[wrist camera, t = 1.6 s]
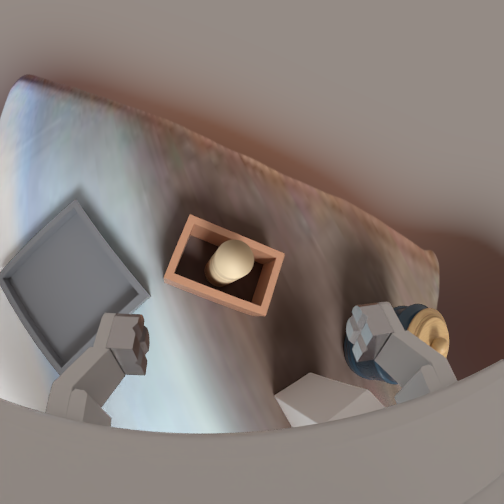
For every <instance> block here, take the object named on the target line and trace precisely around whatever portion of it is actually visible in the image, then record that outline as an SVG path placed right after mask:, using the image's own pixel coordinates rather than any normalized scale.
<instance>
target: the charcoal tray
mask: <svg viewBox="0 0 504 504" xmlns="http://www.w3.org/2000/svg"><path fill="white" fill-rule="evenodd" d="M0 286H1V288H2V289H3V291H4V293H5V295H6V297H7V299H8V300H9V302H10V304H11V306H12V307H13V309H14V311H15V312H16V314H17V316H18V317H19V319H20V320H21V322H22V324H23V325H24V327H25V328H26V330H27V331H28V333H29V334H30V336H31V337H32V339H33V340H34V342H35V343H36V345H37V346H38V347H39V349H40V350H41V352H42V353H43V354H44V356H45V357H46V358H47V360H48V361H49V362H50V363H51V365H52V366H53V367H54V369H55V370H56V371H57V372H58V374H59V375H60V376H61V375H62V374H63V373H64V372H65V371H66V370H67V369H68V368H69V367H70V366H71V365H72V364H73V363H74V362H75V361H76V360H77V359H78V358H79V357H80V356H81V355H82V354H83V353H84V352H85V351H86V350H87V349H88V348H89V347H93V346H94V342H95V339H96V335H97V332H98V328H99V325H100V322H101V319H102V316H103V315H104V313H121V314H132V313H133V312H134V311H135V310H136V309H138V308H139V307H140V306H141V305H142V304H143V303H144V302H145V301H146V300H147V299H148V298H150V297H151V296H150V295H149V294H148V293H147V291H146V290H145V289H144V288H143V287H142V285H141V284H140V283H139V282H138V281H137V279H136V278H135V277H134V276H133V275H132V273H131V272H130V271H129V270H128V268H127V267H126V266H125V265H124V263H123V262H122V261H121V260H120V258H119V257H118V256H117V255H116V253H115V252H114V251H113V249H112V248H111V247H110V245H109V244H108V243H107V242H106V240H105V239H104V238H103V236H102V235H101V233H100V232H99V231H98V229H97V228H96V227H95V225H94V224H93V222H92V221H91V220H90V218H89V217H88V215H87V214H86V213H85V211H84V210H83V208H82V207H81V205H80V204H79V202H78V201H77V200H76V199H75V200H74V201H72V202H71V203H70V204H69V205H68V206H67V207H65V208H64V209H63V210H62V211H61V212H60V213H59V214H57V215H56V216H55V217H54V218H53V219H52V220H51V221H50V222H49V223H48V224H47V225H45V226H44V227H43V228H42V229H41V230H40V231H39V232H38V233H37V234H36V235H35V236H34V237H33V238H32V239H31V240H30V241H29V242H28V243H27V244H26V245H25V246H24V247H23V248H22V249H21V250H20V251H19V252H18V253H17V254H16V255H15V256H14V258H13V259H12V260H11V261H10V262H9V263H8V264H7V265H6V266H5V267H4V269H3V270H2V271H1V272H0Z"/></svg>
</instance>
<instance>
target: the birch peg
mask: <svg viewBox="0 0 504 504" xmlns="http://www.w3.org/2000/svg"><path fill="white" fill-rule="evenodd" d="M253 264H254V255H253V252H252V250H251V248H250V247H249V246H248V245H247V244H246V243H244V242H243V241H240V240H236V239H233V240H228V241H226V242H224V243H222V244H221V245H220V247H219V248H218V249H217V251H216V252H215V253H214V254H213V256H212V257H211V258H210V260H209V261H208V262H207V264H206V266H205V277H206V279H207V280H208V282H209V283H211V284H212V285H214V286H217V287H223V286H226V285H228V284H230V283H232V282H234V281H236V280H238V279H240V278H242V277H243V276H245V275H247V274H248V273H249V272H250V271H251V269H252V267H253Z"/></svg>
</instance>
